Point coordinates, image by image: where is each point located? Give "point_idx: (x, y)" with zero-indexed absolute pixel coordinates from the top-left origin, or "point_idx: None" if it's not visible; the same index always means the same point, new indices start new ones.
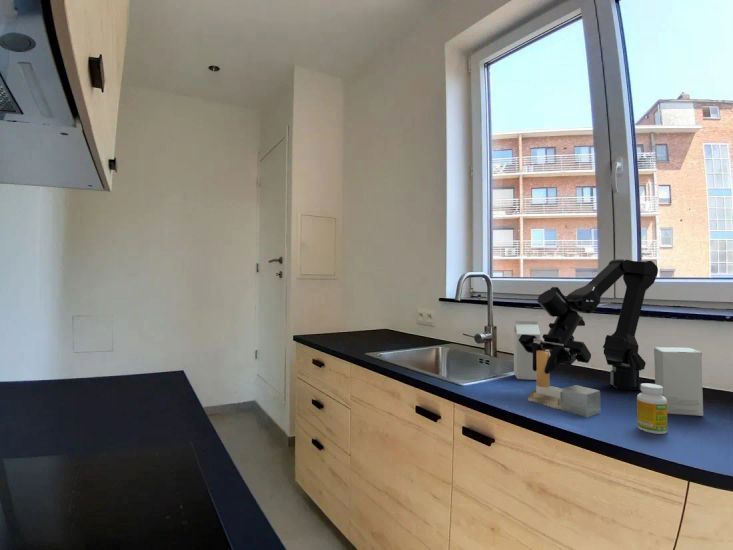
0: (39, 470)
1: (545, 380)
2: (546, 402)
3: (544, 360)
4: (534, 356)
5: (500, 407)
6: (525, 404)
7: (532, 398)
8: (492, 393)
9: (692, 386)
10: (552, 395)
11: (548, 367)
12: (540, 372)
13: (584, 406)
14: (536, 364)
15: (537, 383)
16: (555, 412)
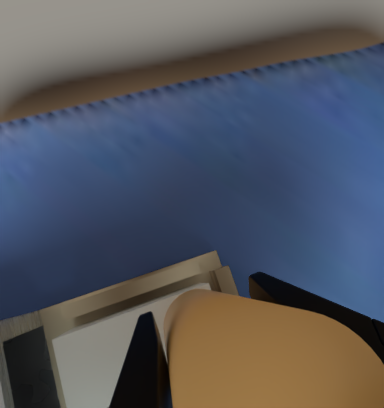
0: None
1: (166, 323)
2: (124, 282)
3: (176, 349)
4: (354, 329)
5: (160, 97)
6: (166, 205)
7: (194, 258)
8: (326, 167)
9: None
10: (110, 316)
11: (128, 351)
12: (192, 300)
13: None
14: None
15: (206, 289)
16: (38, 259)
